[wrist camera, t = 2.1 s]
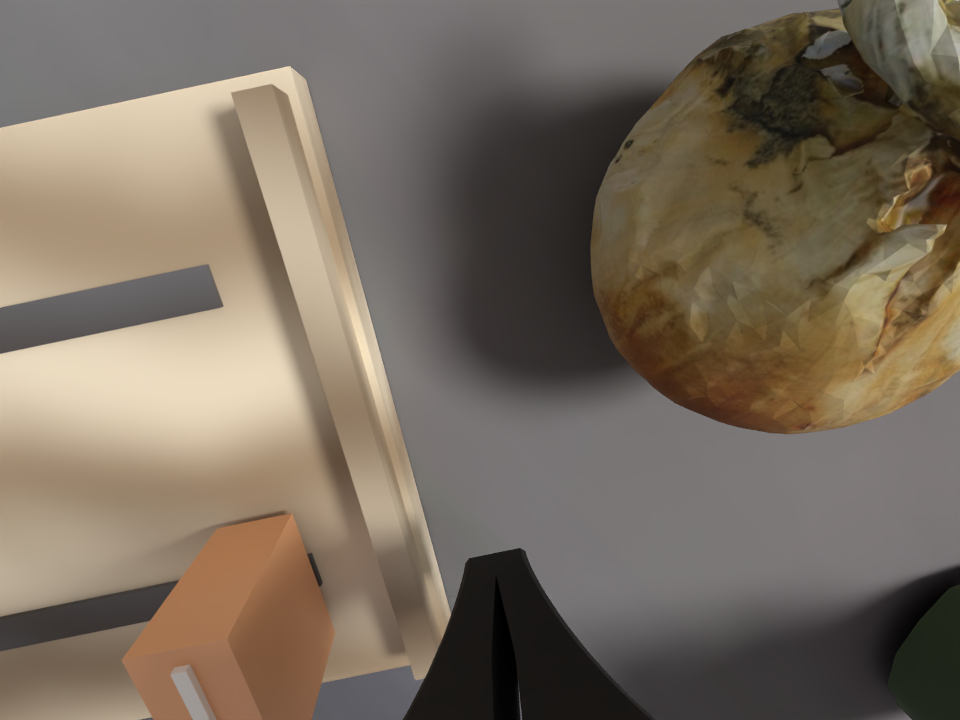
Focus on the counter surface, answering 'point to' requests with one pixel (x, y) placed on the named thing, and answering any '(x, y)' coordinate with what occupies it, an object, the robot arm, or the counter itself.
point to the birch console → (189, 388)
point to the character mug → (931, 663)
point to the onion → (793, 221)
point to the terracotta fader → (238, 631)
